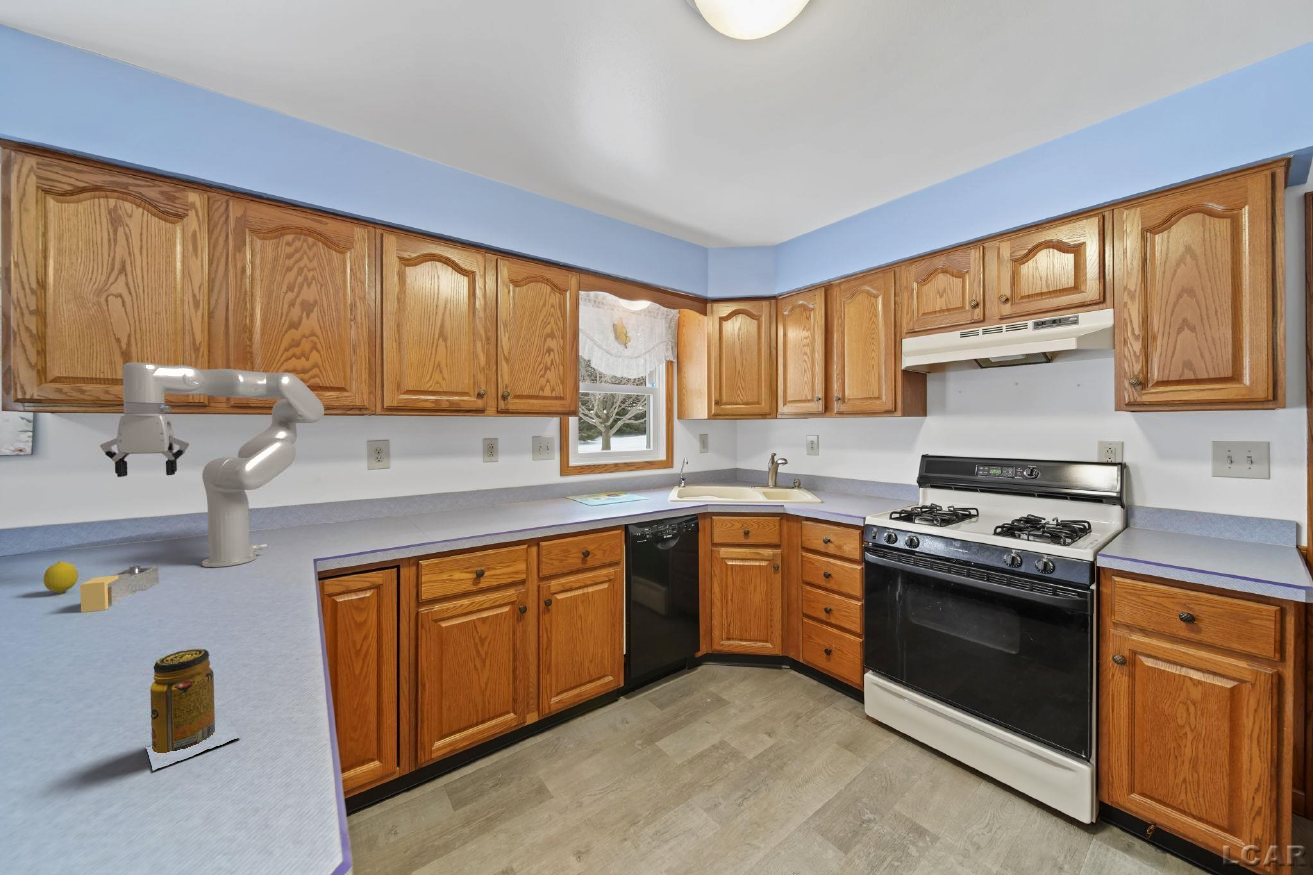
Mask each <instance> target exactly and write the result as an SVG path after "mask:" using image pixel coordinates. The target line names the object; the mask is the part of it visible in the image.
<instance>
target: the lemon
mask: <svg viewBox="0 0 1313 875" xmlns="http://www.w3.org/2000/svg"><path fill="white" fill-rule="evenodd" d="M78 578H79V573H78V570H77V567H76V566H75V565H73V564H72V563H69V562H64V561H57V563H55V564H53V565H51V566H49V567H48V568H47V569H46V570H45V572H44V575H43V584H44V587H45V588H46V589H47V590H49V591H51V592H56V593H58V594H61V595H62V594H65V592H67V591H68V590H70V589H72V588H73V587H74V586H75V584H76V583H77V581H78Z"/></svg>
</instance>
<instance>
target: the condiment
mask: <svg viewBox="0 0 1313 875" xmlns="http://www.w3.org/2000/svg"><path fill="white" fill-rule="evenodd" d="M209 658H210V652H209V651H208V650H207V649H205V648H192V649H185V650H180V651H176V652H173V653H170V654H167V655H165V656H163V657H161V658H159V659H158V660H156V661H155V663H154V666H153V672H154V675H153V680H154V681H153V682H152V684H151V685H150V690H149V692H150V718H151V722H150V725H151V746H152V749H153V751H154V752H157V753H167V752H170V751H177V750H180V749H186V748H188V747H191V746H193V745H196V744H199V743H200V742H202V741H203V740H206V739H207V738H209V737H210V736H211V735H213V733H214V732H215V723H216V720H215V719H216V717H215V716H216V715H215V708H216V707H215V679H214V676H215V675H214V670H213V669H212V668H211V667H210V665H211V662H210V659H209Z"/></svg>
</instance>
